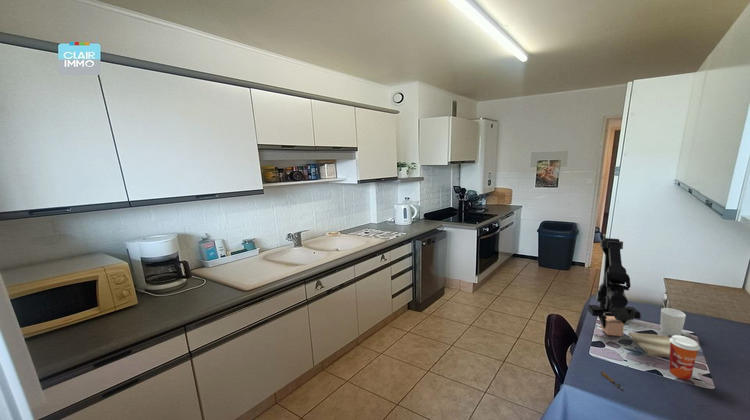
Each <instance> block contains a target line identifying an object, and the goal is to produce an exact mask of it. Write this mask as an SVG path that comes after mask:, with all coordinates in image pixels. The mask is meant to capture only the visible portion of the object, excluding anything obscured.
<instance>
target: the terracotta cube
mask: <svg viewBox="0 0 750 420" xmlns="http://www.w3.org/2000/svg"><path fill="white" fill-rule="evenodd" d="M605 316H606V317H607V318H606V323H605V328H603V326H602V324H601V323H600V328H601V330H602V331H604V333H605V334H606V335H607V336H616V337H617V336H618V337H623V336H624V328H625V324H624V323H623V322H622V321H618V320H616V319H615V317H614V316H611V315H605Z"/></svg>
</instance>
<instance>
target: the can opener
mask: <svg viewBox="0 0 750 420" xmlns="http://www.w3.org/2000/svg"><path fill="white" fill-rule="evenodd" d="M600 374H601V376H602V377H605V379H607V380H609V382H611V383H612V384H613V386H617V387H618V388H619V389H620V390H621V391H624V388H623V387H622V385H621V384H620V383H617V382H615V380H613V379H612V378H611V377H610V376H609V375H608V374H606V373H605V372H604V371H601V372H600Z"/></svg>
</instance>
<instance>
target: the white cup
mask: <svg viewBox="0 0 750 420" xmlns="http://www.w3.org/2000/svg"><path fill="white" fill-rule="evenodd" d="M686 316H687V315H686V314H685V313H684V312H683V311H681V310H679V309H676V308H669V307H662V308H661V309H660V328H659V329H660V331H661V332H662V334H663V333H664V334H665V335H668V336H671V337H672V336H674V335H680V336H682V333H683V332H682V331H683V330H684V325H685V322H686Z"/></svg>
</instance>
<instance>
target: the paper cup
mask: <svg viewBox="0 0 750 420" xmlns="http://www.w3.org/2000/svg"><path fill="white" fill-rule="evenodd" d="M669 339H670V342H671V343H670V357H669V365H668V366H669V367H668V368H669V373H670V374H671V375H672V376H674V377H677V378H678V379H682V380H690V379H691V377H692V374H693V370H694V367H695V363H696V359H697V355H698V352H699V350H700V349H701V347H700V344H699V343H698V342H697V341H696V340H694V339H692V338H690V337H688V336H684V335H681V336H680V335H674V336H671V337H669Z"/></svg>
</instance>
